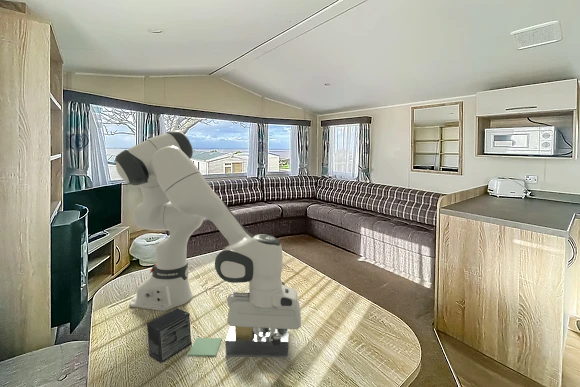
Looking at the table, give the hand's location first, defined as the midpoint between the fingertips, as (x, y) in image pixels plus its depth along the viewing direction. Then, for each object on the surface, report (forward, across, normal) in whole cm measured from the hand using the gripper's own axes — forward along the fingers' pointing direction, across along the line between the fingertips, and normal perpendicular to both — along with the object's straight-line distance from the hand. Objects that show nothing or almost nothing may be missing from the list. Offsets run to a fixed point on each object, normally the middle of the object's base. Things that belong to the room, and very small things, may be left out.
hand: (264, 340), depth 88 cm
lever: (+1, +3, +2) cm, 3 cm away
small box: (+8, -28, +4) cm, 29 cm away
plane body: (+6, -2, +5) cm, 9 cm away
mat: (+7, -18, +6) cm, 20 cm away
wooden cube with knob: (+2, -6, +6) cm, 8 cm away
